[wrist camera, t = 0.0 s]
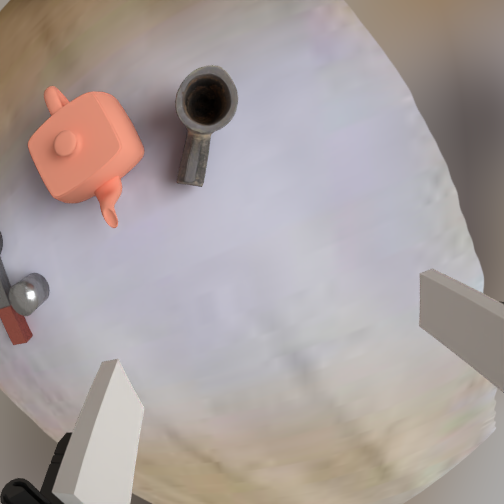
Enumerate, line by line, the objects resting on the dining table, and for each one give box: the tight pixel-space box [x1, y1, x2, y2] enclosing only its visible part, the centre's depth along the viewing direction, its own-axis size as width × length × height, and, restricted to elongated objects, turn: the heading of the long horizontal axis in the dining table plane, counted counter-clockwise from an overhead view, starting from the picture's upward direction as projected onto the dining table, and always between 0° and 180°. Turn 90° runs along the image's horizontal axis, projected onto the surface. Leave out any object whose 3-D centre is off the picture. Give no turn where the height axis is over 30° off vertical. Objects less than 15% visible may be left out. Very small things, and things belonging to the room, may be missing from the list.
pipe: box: [175, 65, 238, 187], centre depth 32 cm, size 6×13×8 cm, turn 170°
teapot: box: [28, 86, 144, 228], centre depth 29 cm, size 12×18×10 cm, turn 29°
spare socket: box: [9, 273, 49, 316], centre depth 34 cm, size 4×4×5 cm
